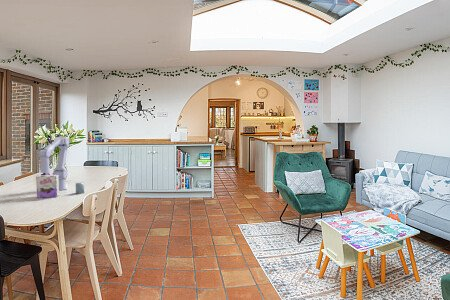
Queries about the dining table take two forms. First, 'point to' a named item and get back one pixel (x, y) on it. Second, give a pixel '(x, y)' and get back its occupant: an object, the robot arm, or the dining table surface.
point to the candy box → (47, 186)
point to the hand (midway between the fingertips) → (45, 182)
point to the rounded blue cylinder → (79, 188)
